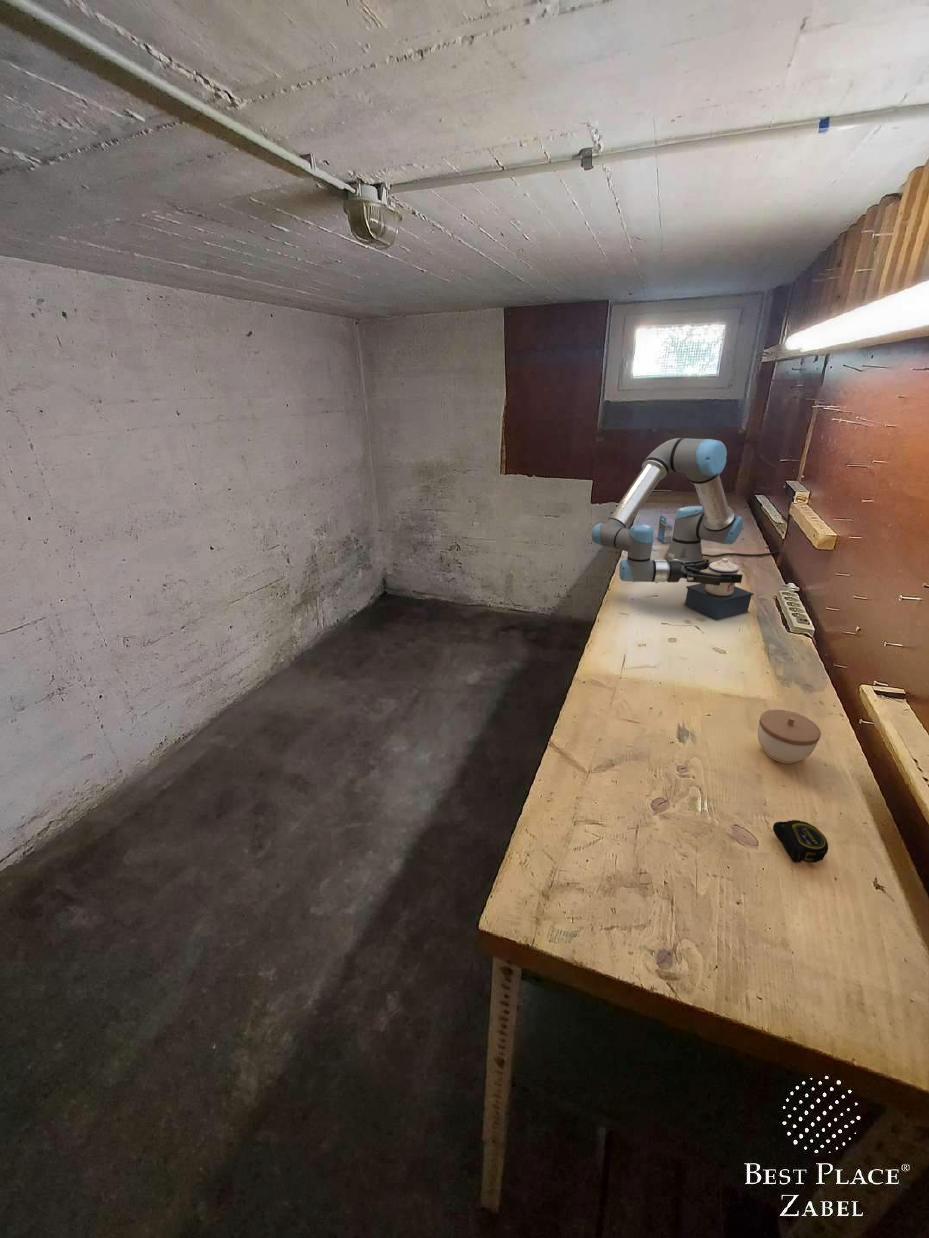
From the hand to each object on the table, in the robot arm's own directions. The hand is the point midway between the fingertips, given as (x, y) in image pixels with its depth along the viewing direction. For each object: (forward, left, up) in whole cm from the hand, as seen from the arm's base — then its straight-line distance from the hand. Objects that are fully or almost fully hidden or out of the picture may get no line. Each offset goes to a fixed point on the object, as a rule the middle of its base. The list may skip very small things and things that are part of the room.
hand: (735, 572), depth 162 cm
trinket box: (+48, +59, -14) cm, 77 cm away
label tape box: (-37, -73, -14) cm, 83 cm away
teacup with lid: (+3, -2, -7) cm, 8 cm away
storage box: (+3, -2, -14) cm, 14 cm away
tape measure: (+67, +77, -14) cm, 103 cm away
